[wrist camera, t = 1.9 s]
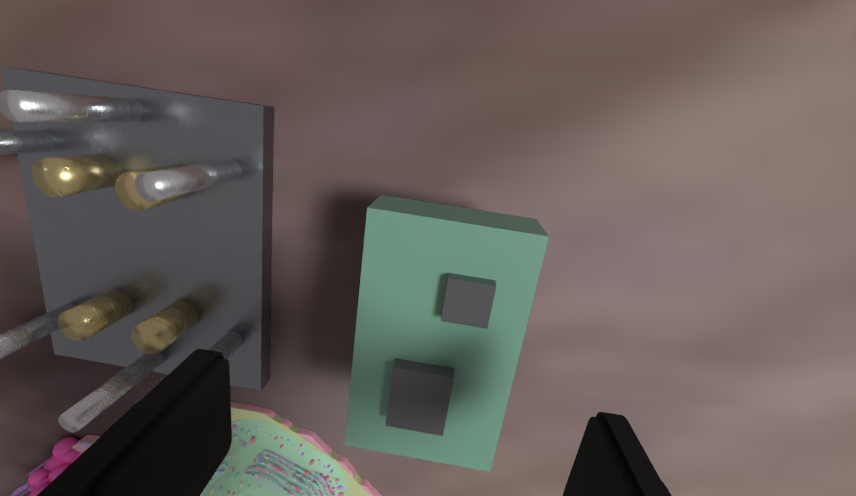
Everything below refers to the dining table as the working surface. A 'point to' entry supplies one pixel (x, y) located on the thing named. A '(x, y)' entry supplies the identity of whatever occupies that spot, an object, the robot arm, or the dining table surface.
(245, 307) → the chassis
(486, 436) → the board
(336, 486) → the pastel sphere sculpture
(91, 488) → the robot arm
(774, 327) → the dining table surface
